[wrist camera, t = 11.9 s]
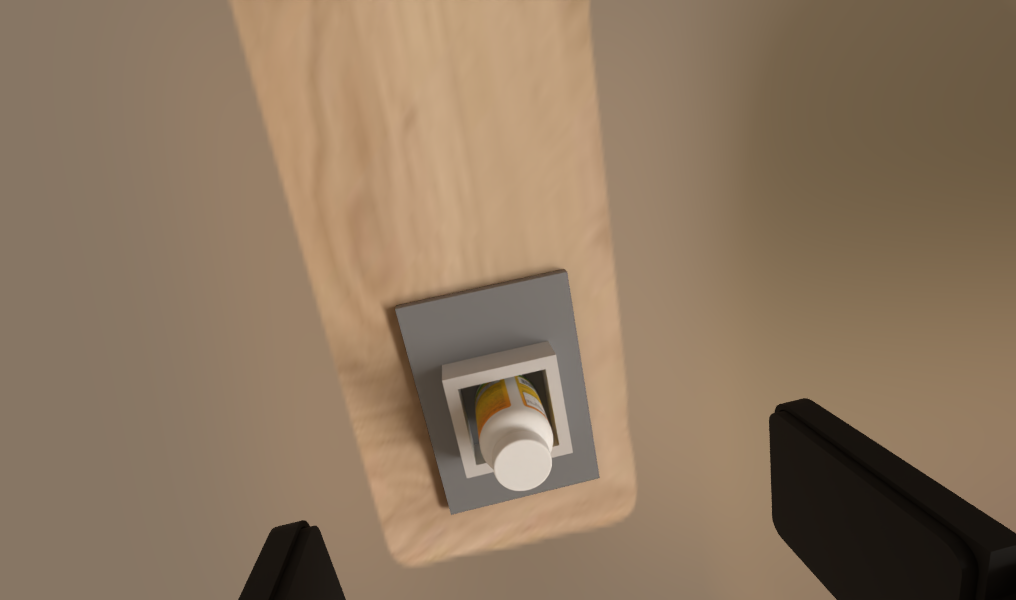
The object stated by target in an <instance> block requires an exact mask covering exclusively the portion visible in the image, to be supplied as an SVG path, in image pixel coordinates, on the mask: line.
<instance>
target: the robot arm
mask: <svg viewBox="0 0 1016 600" xmlns="http://www.w3.org/2000/svg"><path fill="white" fill-rule="evenodd" d="M769 431H770V462H771V492H772V518H773V523H774V526H775V528H776V530H777V532H778V534H779V535H780V536H781V538H782V539H783V540H784V541H785V542H786V543H787V545H788V546H789V547H790V548H791V549H792V550H793V551H794V552H795V553H796V555H797V556H798V557H799V558H800V559H801V560H802V561H803V562H804V564H805V565H806V566H807V567H808V568H809V569H810V570H811V571H812V572H813V574H814V575H815V576H816V577H817V578H818V579H819V580H820V582H822V584H823V585H824V586H825V587H826V588H827V589H828V590H829V591H830V593H831V594H832V595H833V596H834V597H835V598H836V599H837V600H1016V533H1014V532H1013V531H1011V530H1010V529H1008V528H1007V527H1005V526H1004V525H1002V524H1001V523H999V522H998V521H996V520H994V519H993V518H991V517H990V516H988V515H987V514H985V513H984V512H982V511H981V510H979V509H978V508H976V507H975V506H973V505H971V504H970V503H968V502H967V501H965V500H964V499H962V498H961V497H959V496H958V495H956V494H955V493H953V492H952V491H950V490H948V489H947V488H945V487H944V486H942V485H941V484H939V483H938V482H936V481H934V480H933V479H932V478H930V477H928V476H927V475H925V474H924V473H922V472H921V471H919V470H918V469H916V468H915V467H913V466H912V465H910V464H908V463H907V462H905V461H904V460H902V459H901V458H899V457H898V456H896V455H895V454H893V453H892V452H890V451H889V450H887V449H886V448H884V447H882V446H881V445H879V444H877V443H876V442H875V441H873V440H872V439H870V438H869V437H867V436H866V435H864V434H863V433H861V432H859V431H858V430H856V429H855V428H853V427H852V426H850V425H849V424H847V423H846V422H844V421H843V420H841V419H840V418H838V417H836V416H835V415H833V414H832V413H830V412H829V411H827V410H826V409H824V408H822V407H821V406H820V405H818V404H816V403H815V402H813V401H812V400H810V399H805V398H803V399H799V400H795V401H791V402H787V403H783V404H779V405H778V406H777V407H776V409H775V413H773V414H771V416H770V418H769ZM238 600H346V599H345V596H344V594H343V591H342V588H341V586H340V583H339V580H338V578H337V575H336V572H335V570H334V567H333V564H332V562H331V559H330V556H329V554H328V551H327V548H326V546H325V543H324V540H323V538H322V535H321V532H320V530H319V528H318V527H317V526H311V527H310V526H309V524H308V523H307V522H306V521H303V520H302V521H299V522H295V523H290V524H286V525H282V526H278V527H275V528H273V529H272V530H271V532H270V533H269V536H268V538H267V540H266V542H265V544H264V546H263V548H262V550H261V553H260V555H259V557H258V559H257V561H256V563H255V566H254V567H253V570H252V572H251V574H250V576H249V578H248V580H247V582H246V584H245V587H244V589H243V591H242V593H241V595H240V597H239V599H238Z"/></svg>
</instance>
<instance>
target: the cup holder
mask: <svg viewBox="0 0 1016 600" xmlns="http://www.w3.org/2000/svg"><path fill="white" fill-rule="evenodd" d="M395 311H396V315H397V318H398V322H399V326H400V329H401V333H402V337H403V340H404V344H405V348H406V351H407V355H408V359H409V362H410V366H411V370H412V373H413V377H414V381H415V384H416V388H417V392H418V395H419V399H420V403H421V406H422V410H423V414H424V417H425V421H426V425H427V428H428V432H429V436H430V439H431V443H432V447H433V450H434V454H435V458H436V461H437V465H438V468H439V472H440V476H441V479H442V483H443V487H444V490H445V494H446V498H447V501H448V505H449V509H450V512H451V515H452V514H456V513H460V512H464V511H468V510H472V509H476V508H481V507H485V506H489V505H493V504H497V503H501V502H505V501H509V500H513V499H517V498H521V497H525V496H529V495H533V494H537V493H541V492H545V491H549V490H553V489H557V488H561V487H565V486H569V485H573V484H577V483H581V482H585V481H589V480H594V479H598V478H600V477H599V471H598V465H597V458H596V452H595V446H594V439H593V433H592V426H591V420H590V414H589V407H588V401H587V395H586V388H585V382H584V376H583V369H582V363H581V357H580V350H579V344H578V338H577V331H576V325H575V318H574V312H573V306H572V299H571V293H570V287H569V280H568V274H567V271H566V270H565V269H563V270H558V271H553V272H549V273H544V274H540V275H535V276H530V277H526V278H521V279H517V280H512V281H507V282H503V283H498V284H494V285H489V286H484V287H480V288H475V289H471V290H466V291H461V292H457V293H452V294H447V295H443V296H438V297H434V298H429V299H424V300H420V301H415V302H411V303H406V304H401V305H397V306H396V308H395ZM518 375H524V376H525V377H527V378H528V379H529V380H530V381H531V383H532V384H533V385H534V387H535V389H536V391H537V394H538V396H539V399H540V401H541V404H542V406H543V409H544V411H545V414H546V416H547V419H548V421H549V424H550V426H551V429H552V433H553V447H552V451H551V453H550V454H551V458H552V467H551V471H550V473H549V475H548V477H547V478H546V479H545V481H543V482H542V483H541V484H540V485H538V486H537V487H535V488H533V489H530V490H526V491H514V490H510V489H508V488H506V487H504V486H503V485H501V484H500V483H499V482H498V480H497V479H496V477H495V475H494V471H493V469H492V468H491V467H490V466H489V465H488V464H487V463H486V461H485V460H484V458H483V456H482V453H481V449H480V444H479V436H478V429H477V421H476V413H475V395H476V392H477V389H478V388H479V386H480V384H483V383H487V382H492V381H496V380H500V379H505V378H509V377H513V376H518Z"/></svg>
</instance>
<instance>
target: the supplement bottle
mask: <svg viewBox="0 0 1016 600" xmlns="http://www.w3.org/2000/svg"><path fill="white" fill-rule="evenodd" d="M475 413H476V421H477V429H478V436H479V444H480V449H481V453H482V456H483V458H484V460H485V461H486V463H487V464H488V465H489V466H490V467H491V468H492V469H493V471H494V475H495V477H496V479H497V480H498V482H499V483H500V484H501V485H503V486H504V487H506V488H508V489H510V490H514V491H526V490H530V489H533V488H535V487H537V486H538V485H540V484H541V483H542V482H543V481H545V479H546V478H547V477H548V475H549V473H550V471H551V467H552V458H551V454H550V453H551V451H552V447H553V433H552V429H551V426H550V424H549V421H548V419H547V416H546V414H545V411H544V409H543V406H542V404H541V401H540V399H539V396H538V394H537V391H536V389H535V387H534V385H533V384H532V383H531V381H530V380H529V379H528V378H527V377H525V376H524V375H518V376H513V377H509V378H505V379H500V380H496V381H492V382H487V383H483V384H480V386H479V388H478V389H477V392H476V395H475Z"/></svg>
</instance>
